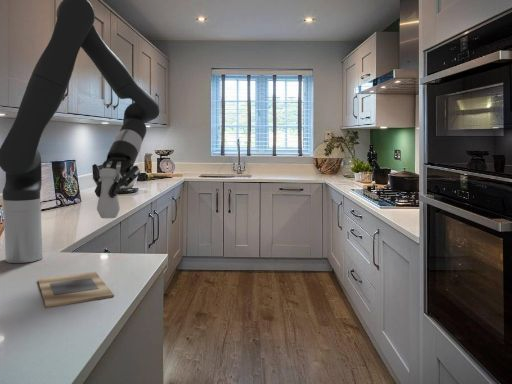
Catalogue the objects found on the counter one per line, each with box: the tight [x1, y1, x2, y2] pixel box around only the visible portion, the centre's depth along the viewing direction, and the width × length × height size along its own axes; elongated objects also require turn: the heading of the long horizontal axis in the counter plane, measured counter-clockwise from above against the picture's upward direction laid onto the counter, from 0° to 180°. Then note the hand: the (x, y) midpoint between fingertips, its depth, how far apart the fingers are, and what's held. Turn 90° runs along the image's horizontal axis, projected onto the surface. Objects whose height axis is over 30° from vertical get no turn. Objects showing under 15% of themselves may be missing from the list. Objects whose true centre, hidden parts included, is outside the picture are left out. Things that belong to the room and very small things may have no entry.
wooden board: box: [37, 271, 115, 308], centre depth 98 cm, size 20×13×1 cm, turn 31°
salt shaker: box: [96, 168, 121, 219], centre depth 115 cm, size 6×6×13 cm
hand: (104, 195), depth 114 cm, fingers closed on salt shaker, 3 cm apart
